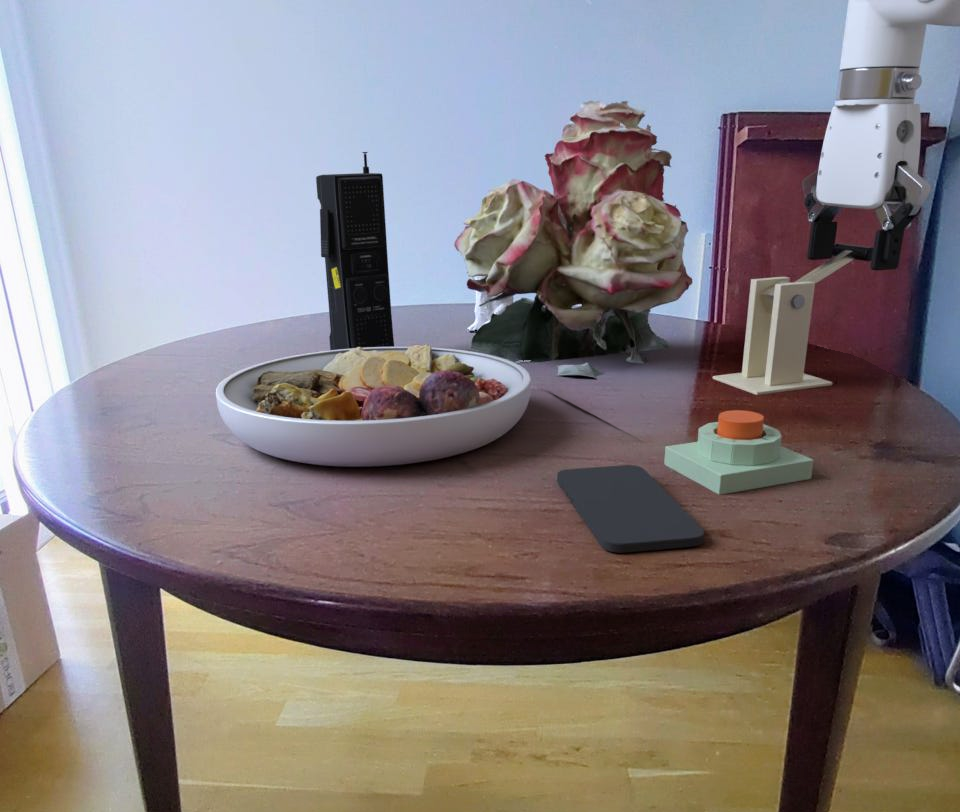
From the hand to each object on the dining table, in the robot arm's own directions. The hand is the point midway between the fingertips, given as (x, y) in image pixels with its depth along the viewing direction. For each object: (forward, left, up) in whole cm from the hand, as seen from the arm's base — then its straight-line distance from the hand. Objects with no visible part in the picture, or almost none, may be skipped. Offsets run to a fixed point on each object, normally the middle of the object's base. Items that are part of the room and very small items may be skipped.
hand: (850, 264), depth 99 cm
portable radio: (+47, -34, -13) cm, 59 cm away
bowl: (+53, -4, -13) cm, 55 cm away
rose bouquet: (+21, -21, -13) cm, 32 cm away
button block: (+29, +21, -13) cm, 38 cm away
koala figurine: (+24, -46, -13) cm, 53 cm away
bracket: (+9, 0, -13) cm, 16 cm away
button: (+29, +21, -10) cm, 37 cm away
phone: (+42, +25, -13) cm, 51 cm away
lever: (+4, 0, -2) cm, 5 cm away
